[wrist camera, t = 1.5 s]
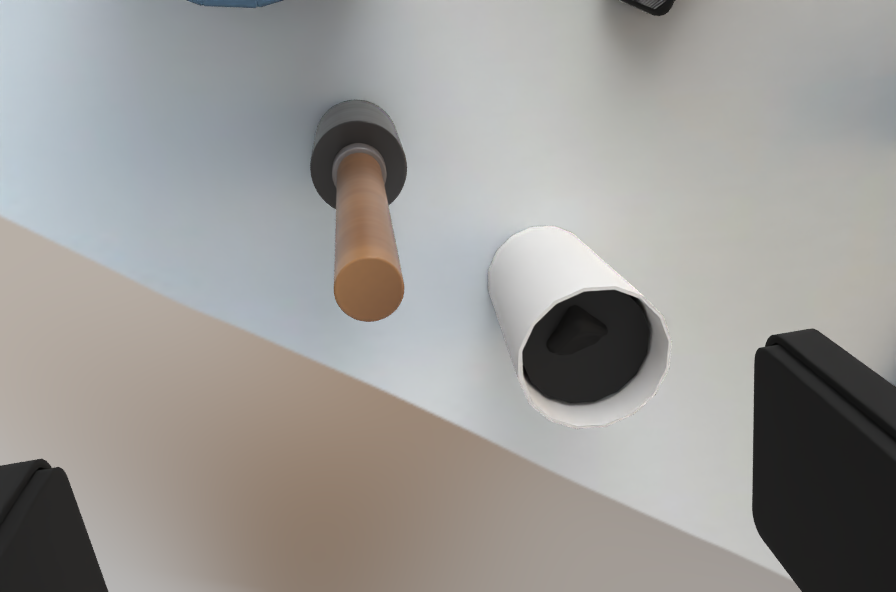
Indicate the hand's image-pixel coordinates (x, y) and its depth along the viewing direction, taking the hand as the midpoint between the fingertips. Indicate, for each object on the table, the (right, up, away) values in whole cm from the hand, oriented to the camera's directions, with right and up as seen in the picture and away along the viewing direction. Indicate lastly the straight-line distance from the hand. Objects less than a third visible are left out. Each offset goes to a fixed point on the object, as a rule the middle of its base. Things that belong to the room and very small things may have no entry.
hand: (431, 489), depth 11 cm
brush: (-4, +10, +28) cm, 30 cm away
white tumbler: (+5, +4, +32) cm, 33 cm away
